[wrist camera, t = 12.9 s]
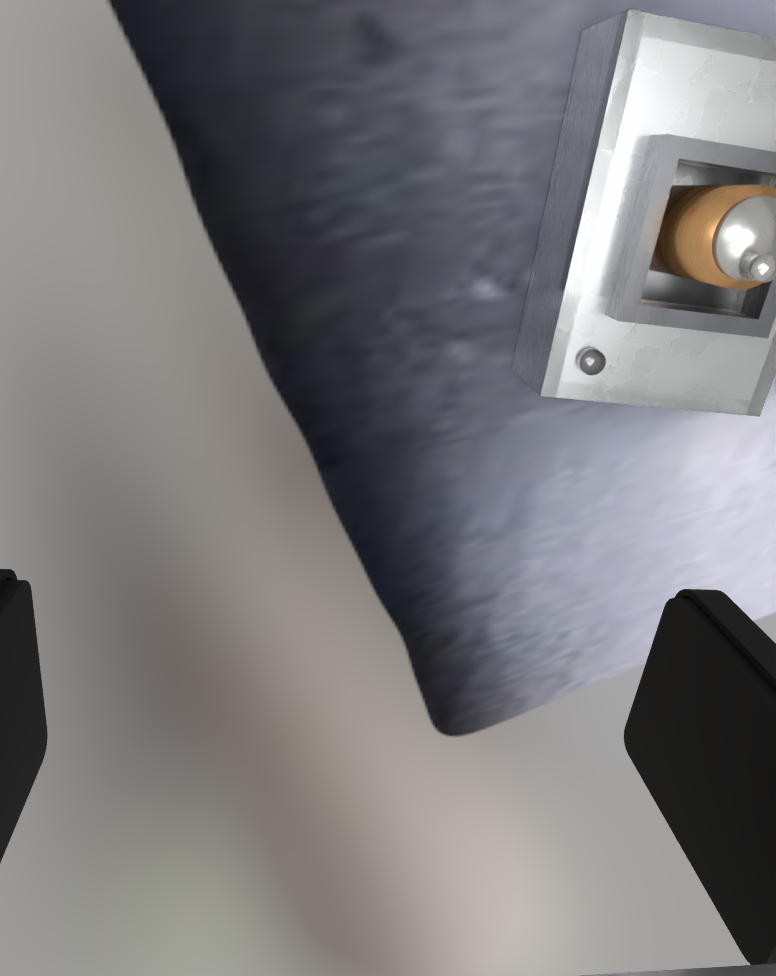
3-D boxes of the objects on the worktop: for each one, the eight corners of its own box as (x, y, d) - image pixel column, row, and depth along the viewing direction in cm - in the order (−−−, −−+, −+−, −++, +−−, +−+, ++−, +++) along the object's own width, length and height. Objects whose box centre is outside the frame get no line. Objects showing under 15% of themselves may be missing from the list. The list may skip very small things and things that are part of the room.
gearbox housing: (581, 30, 32) (646, 1, 26) (846, 80, 34) (960, 64, 29) (511, 368, 39) (550, 405, 33) (738, 391, 41) (812, 429, 35)
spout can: (623, 185, 34) (736, 184, 26) (699, 185, 35) (835, 184, 26) (612, 269, 36) (716, 296, 27) (685, 268, 36) (809, 294, 28)
